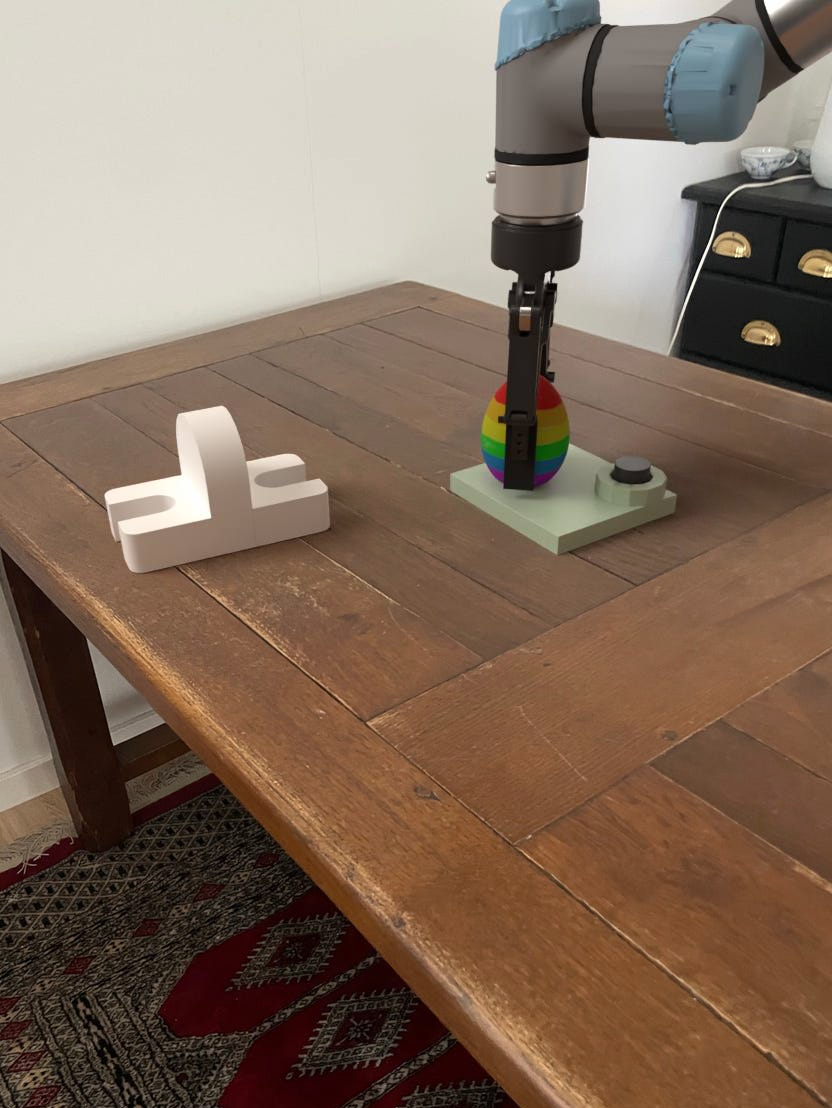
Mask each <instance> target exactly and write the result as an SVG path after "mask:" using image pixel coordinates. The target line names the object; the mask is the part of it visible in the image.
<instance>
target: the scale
mask: <svg viewBox="0 0 832 1108" xmlns="http://www.w3.org/2000/svg"><path fill="white" fill-rule="evenodd" d="M614 464H615V462H613V463H612V462H609V461H608V460H605V459H604V458H601V457H599V456H597V455H595V454H594V453H591V452H588V451H586V450H584V449H582V448H580V447H578V446H576V445H574V444H571V443H570V442H569V447H568V451H567V455H566V458H565V460H564V462H563V464H562V466H561V468H560V469H559V470H558V472H557V473H556V474H555V475H554V476H553V478H551V479H550V480H549V481H548V482H546V483H544V484H541V485H537V486H534V489H533V491H527V490H512V489H503V484H504V483H502V482H500V481H498V480H497V479H496V478H495V477H494V476H493V475H492V473H491V472H490V470H489V469H488V467H487V465H486V463H485V462H484V463H481V464H477V465H473V466H471V467H468V468H464V469H460V470H458V471H455V472H451V473H450V475H449V477H450V479H449V485H450V486H449V491H450V492H452V493H453V494H455V495H457V496H459V497H460V498H461V499H463V500H464V501H466V502H468V503H470V504H471V505H473V506H475V507H476V508H478V509H479V510H481V511H484V512H485V513H486V514H488V515H490V516H492V517H493V518H495V519H496V520H498V521H500V522H501V523H503V524H504V525H506V526H508V527H510V528H511V529H513V530H514V531H517V532H518V533H520V534H522V535H523V536H525V537H526V538H528V539H530V540H531V541H532V542H534V543H536V544H538V545H539V546H541V547H542V548H545V549H546V550H548V551H549V552H551V553H553V554H554V555H556V556H558V555H562V554H565V553H567V552H570V551H573V550H575V549H579V548H581V547H584V546H586V545H589V544H592V543H595V542H597V541H598V542H599V541H600V540H603V539H606V538H608V537H611V536H614V535H616V534H620V533H623V532H624V531H625V532H626V531H628V530H630V529H633V528H636V527H639V526H642V525H644V524H647V523H649V522H652V521H655V520H658V519H661V518H663V517H666V516H669V515H671V514H674V513H675V511H676V504H677V497H678V494H676V493H674V492H673V491H670V490H668V489H666V488H667V481H668V477H667V476H666V474H665V473H664V470H661V469H660V468H658V467H656V466H653V465H651V469H650V476H649V481H648V482H647V483H644V484H635V485H630V484H624V483H619V482H617V481H615V480H614V479H613V474H614Z"/></svg>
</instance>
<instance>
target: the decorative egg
mask: <svg viewBox="0 0 832 1108" xmlns="http://www.w3.org/2000/svg"><path fill="white" fill-rule="evenodd" d="M506 388H507V380H506V381H505V382H504V383H503V384H502V385H501V386H500V387H499V389H498V390H497V391H496V392H495V393H494V395H493V397H492V398H491V400H490V402H489V404H488V406H487V407H486V411H485V413H484V417H483V419H482V423H481V431H480V446H481V453H482V457H483V461H484V463H486V465H487V467H488V469H489V470H490V472H491V473H492V475H493V476H494V477H495V478H496V479H497V480H498V481H500V482H502V483H504V460H505V437H506V424H503V423H498V416H504V414H505V404H506ZM536 415H537V420H538V427H537V444H536V460H535V476H534V486H537V485H541V484H544V483H546V482H548V481H549V480H550V479H551V478H553V476H554V475H555V474H556V473H557V472H558V470H559V469H560V468H561V466H562V464H563V462H564V460H565V458H566V455H567V451H568V447H569V443H570V439H571V436H570V435H571V430H570V419H569V415H568V411H567V408H566V405H565V402H564V400H563V398H562V396H561V395H560V393H559V391H558V390H557V389H556V387H555V386H554V385H553V383H550V382H549V381H548V380H547V379H546V378H545V377H543V376H541V375H540V377H539V388H538V399H537V410H536Z"/></svg>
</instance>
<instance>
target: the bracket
mask: <svg viewBox="0 0 832 1108" xmlns="http://www.w3.org/2000/svg"><path fill="white" fill-rule="evenodd" d="M175 435H176V437H175V438H176V445H177V453H178V459H179V467H180V473H181V474H180V475H174V476H170V477H165V478H160V479H156V480H150V481H146V482H141V483H136V484H131V485H126V486H125V485H124V486H121V487H115V488H111V489H110V490H108V491H106V492H105V493H104V500H105V504H106V505H105V506H106V510H107V515H108V521H109V526H110V531H111V535H112V536H113V538H114V541H115V542H116V543H117V542H120V543H121V549H122V553H123V557H124V561H125V564H126V565H127V568H128V569H129V571H130V572H132V573H135V574H146V573H149V572H155V571H157V570H162V569H166V568H171V567H175V566H180V565H185V564H189V563H193V562H197V561H202V560H206V559H209V558H215V557H218V556H222V555H227V554H231V553H236V552H240V551H244V550H249V549H253V548H257V547H262V546H266V545H270V544H271V545H272V544H275V543H280V542H283V541H287V540H291V539H296V538H297V539H298V538H301V537H305V536H309V535H314V534H317V533H322V532H325V531H327V530H329V528H330V526H331V520H330V503H329V488H328V486H327V485H326V484H325V482H323V480H322V479H320V478H314V479H311V480H307V473H306V472H307V471H306V463H305V462H304V461H303V460H302V458H300V457H299V456H298V455H297V454H294V453H282V454H278V455H277V454H276V455H272V456H267V457H263V458H257V459H253V460H246V459H247V458H246V454H245V450H244V447H243V444H242V440H241V437H240V433H239V431H238V428H237V425H236V424H235V421H234V419H233V417H232V415H231V413H230V411H229V410H228V409H227V408H226V407H225V406H223V405H218V406H212V407H208V408H202V409H196V410H192V411H186V412H181V413H178V414H177V417H176V421H175Z"/></svg>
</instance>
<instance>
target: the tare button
mask: <svg viewBox="0 0 832 1108" xmlns="http://www.w3.org/2000/svg"><path fill="white" fill-rule="evenodd" d="M614 463H615V464H614V474H613V479H614V480H615V481H617V482H619V483H624V484H630V485H635V484H644V483H647V482H648V481H649V476H650V469H651V466H652V463H651V462H650V461H649V460H648V459H645V458H643V457H638V456H623V457H619V458H617V459H616V460H615V461H614Z"/></svg>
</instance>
